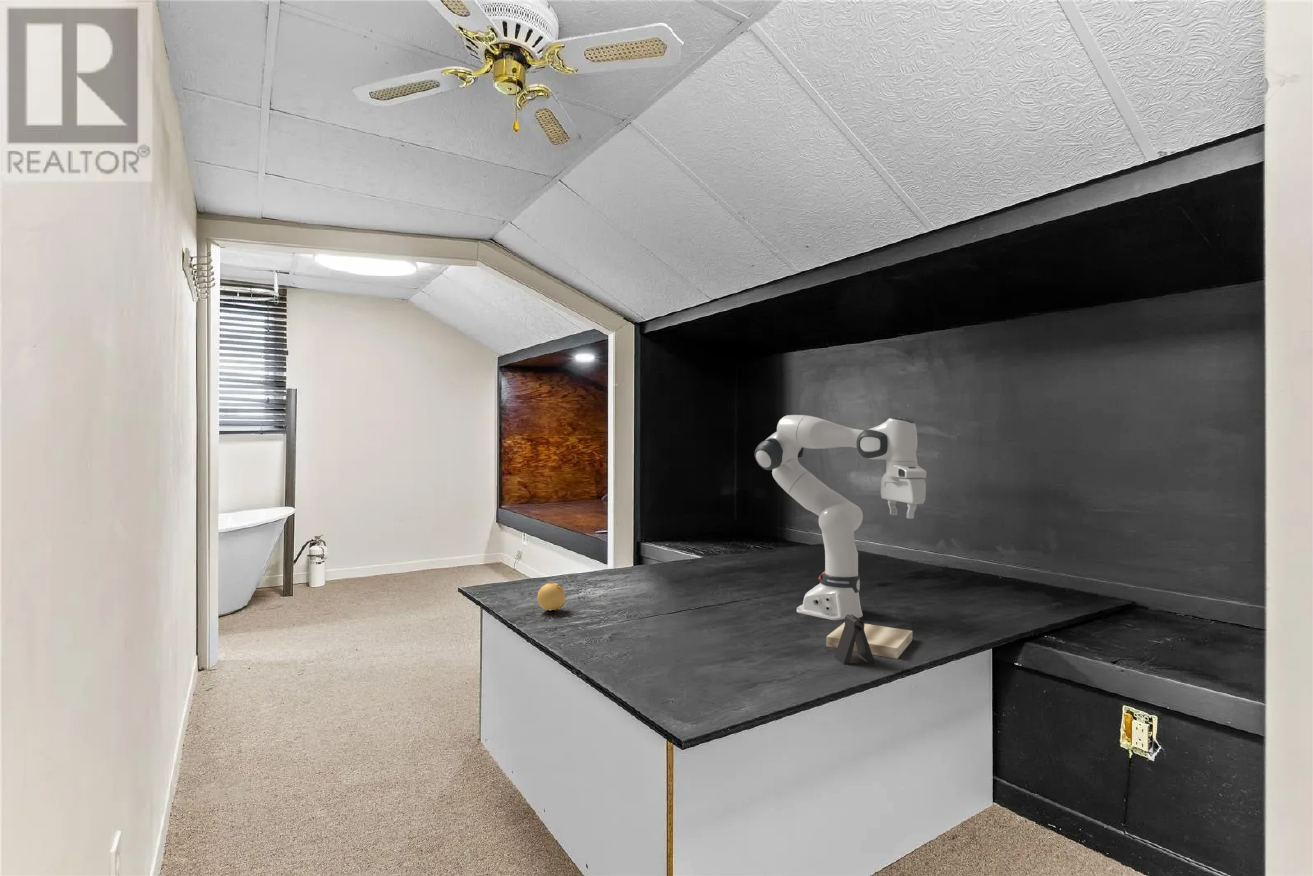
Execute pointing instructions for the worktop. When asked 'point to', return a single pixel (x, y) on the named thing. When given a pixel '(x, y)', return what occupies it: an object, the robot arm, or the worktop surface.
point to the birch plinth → (877, 639)
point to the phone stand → (848, 638)
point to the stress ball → (551, 596)
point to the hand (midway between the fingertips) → (901, 516)
